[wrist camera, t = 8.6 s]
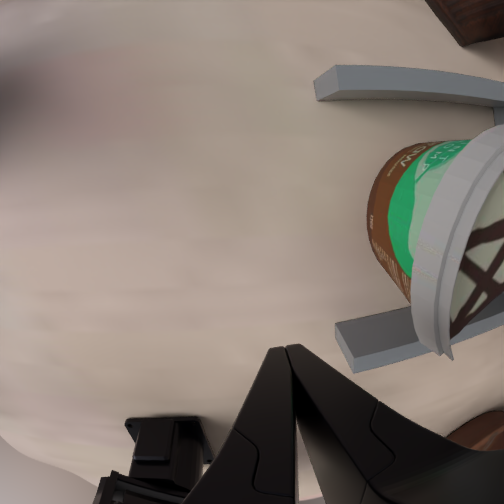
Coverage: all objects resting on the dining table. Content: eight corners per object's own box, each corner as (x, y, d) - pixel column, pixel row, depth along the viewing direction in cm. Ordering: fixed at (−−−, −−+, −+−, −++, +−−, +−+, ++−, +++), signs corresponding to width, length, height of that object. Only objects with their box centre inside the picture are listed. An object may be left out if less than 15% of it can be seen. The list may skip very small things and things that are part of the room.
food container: (447, 91, 16) (564, 80, 7) (484, 168, 18) (593, 196, 9) (306, 197, 18) (381, 254, 9) (359, 274, 20) (442, 369, 10)
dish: (364, 475, 29) (376, 508, 24) (519, 361, 25) (543, 385, 21) (404, 503, 34) (414, 526, 29) (521, 418, 30) (536, 438, 26)
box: (496, 294, 22) (524, 315, 18) (335, 337, 21) (353, 373, 18) (500, 93, 16) (537, 91, 12) (313, 81, 16) (335, 65, 12)
